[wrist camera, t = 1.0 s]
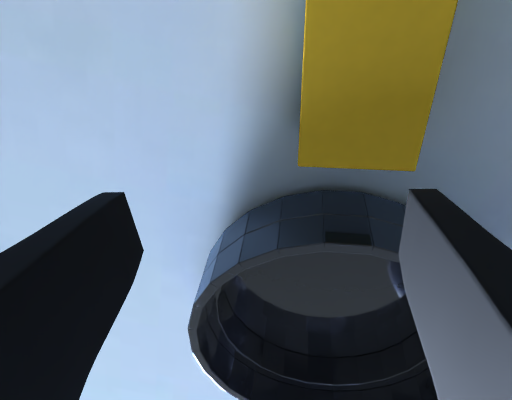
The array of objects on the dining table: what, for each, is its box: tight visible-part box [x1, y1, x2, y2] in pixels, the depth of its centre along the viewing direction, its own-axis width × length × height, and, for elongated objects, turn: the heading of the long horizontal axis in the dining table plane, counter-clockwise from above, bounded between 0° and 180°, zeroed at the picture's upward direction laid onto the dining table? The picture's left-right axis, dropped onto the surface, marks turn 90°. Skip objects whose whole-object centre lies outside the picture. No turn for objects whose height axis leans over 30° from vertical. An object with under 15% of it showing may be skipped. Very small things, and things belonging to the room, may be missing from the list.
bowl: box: [188, 190, 438, 400], centre depth 22 cm, size 15×15×4 cm
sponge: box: [298, 0, 458, 171], centre depth 14 cm, size 7×4×4 cm, turn 1°
